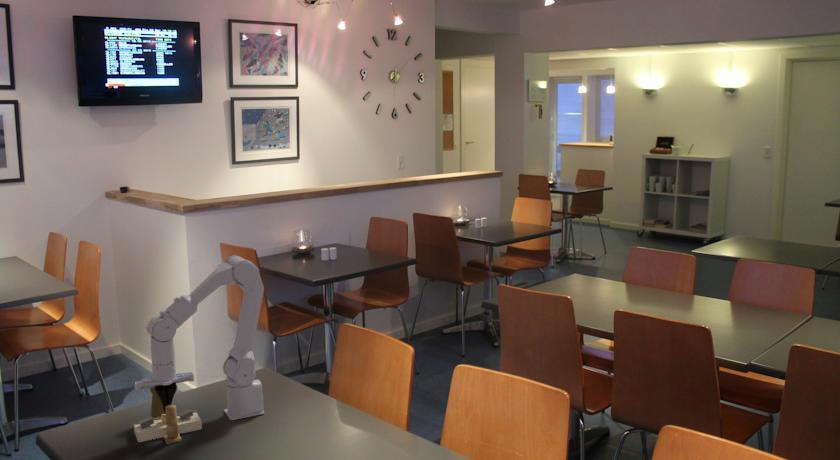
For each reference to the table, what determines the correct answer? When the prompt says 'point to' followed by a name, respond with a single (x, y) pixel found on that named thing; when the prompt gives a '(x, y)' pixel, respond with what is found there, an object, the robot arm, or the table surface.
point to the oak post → (172, 425)
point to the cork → (156, 404)
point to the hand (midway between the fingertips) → (166, 411)
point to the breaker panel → (161, 427)
